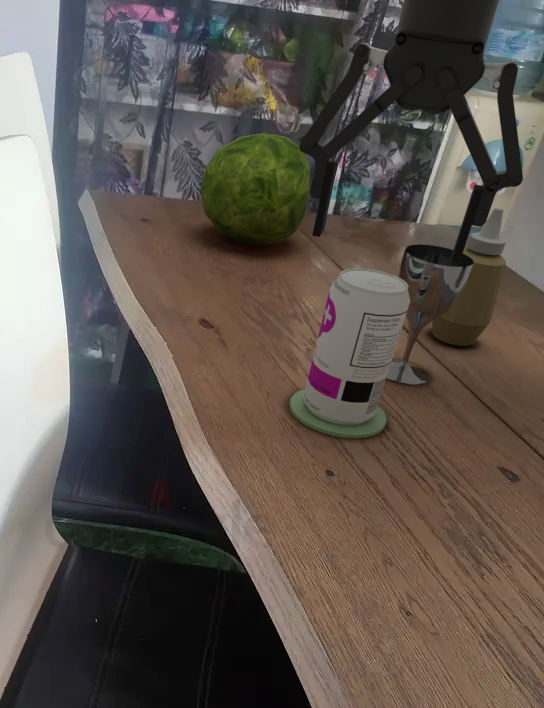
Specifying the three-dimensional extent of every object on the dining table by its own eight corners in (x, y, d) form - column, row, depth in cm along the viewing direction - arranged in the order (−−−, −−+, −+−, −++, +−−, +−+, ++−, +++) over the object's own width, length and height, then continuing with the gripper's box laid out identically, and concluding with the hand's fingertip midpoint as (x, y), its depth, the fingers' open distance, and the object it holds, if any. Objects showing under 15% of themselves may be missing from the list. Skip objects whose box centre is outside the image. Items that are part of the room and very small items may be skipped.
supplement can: (295, 415, 82) (327, 282, 73) (310, 386, 88) (341, 260, 79) (367, 435, 80) (409, 301, 71) (378, 403, 86) (417, 277, 77)
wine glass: (392, 353, 100) (427, 241, 91) (443, 376, 95) (486, 260, 87) (358, 366, 95) (392, 249, 86) (411, 391, 91) (452, 271, 82)
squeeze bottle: (473, 355, 102) (524, 222, 91) (416, 338, 105) (460, 206, 94) (486, 338, 108) (536, 211, 97) (432, 322, 111) (475, 197, 100)
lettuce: (309, 237, 143) (317, 132, 135) (301, 254, 123) (310, 132, 115) (211, 235, 147) (213, 133, 139) (188, 251, 127) (190, 133, 119)
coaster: (389, 405, 87) (390, 401, 87) (379, 448, 79) (381, 444, 78) (299, 382, 90) (300, 378, 89) (280, 422, 81) (281, 418, 81)
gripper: (298, -34, 60) (255, 231, 73) (625, 1, 55) (518, 281, 67) (313, -31, 66) (271, 214, 79) (611, 1, 61) (515, 259, 73)
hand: (385, 246), depth 73 cm, fingers open, 13 cm apart
